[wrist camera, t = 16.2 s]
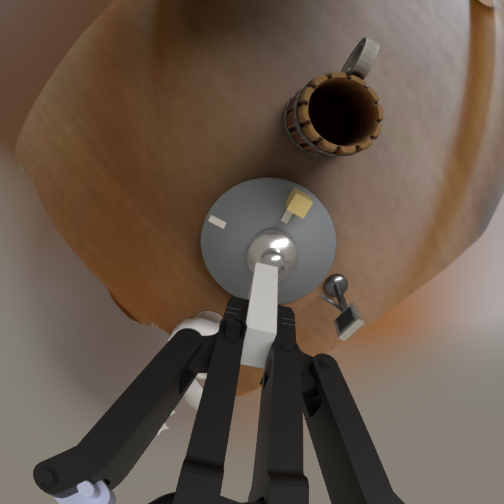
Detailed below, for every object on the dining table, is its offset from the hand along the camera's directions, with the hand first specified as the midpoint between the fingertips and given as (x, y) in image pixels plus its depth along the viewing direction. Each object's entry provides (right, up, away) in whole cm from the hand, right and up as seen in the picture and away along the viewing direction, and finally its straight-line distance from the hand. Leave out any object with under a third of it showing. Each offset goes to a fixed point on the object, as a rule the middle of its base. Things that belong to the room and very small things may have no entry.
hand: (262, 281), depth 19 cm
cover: (+2, +2, +21) cm, 21 cm away
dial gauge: (+13, -3, +26) cm, 29 cm away
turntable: (+2, +3, +23) cm, 23 cm away
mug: (+10, +23, +16) cm, 30 cm away
